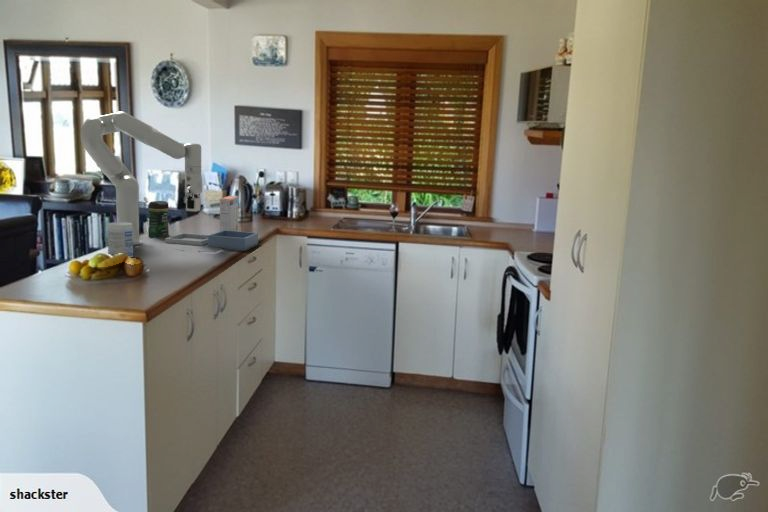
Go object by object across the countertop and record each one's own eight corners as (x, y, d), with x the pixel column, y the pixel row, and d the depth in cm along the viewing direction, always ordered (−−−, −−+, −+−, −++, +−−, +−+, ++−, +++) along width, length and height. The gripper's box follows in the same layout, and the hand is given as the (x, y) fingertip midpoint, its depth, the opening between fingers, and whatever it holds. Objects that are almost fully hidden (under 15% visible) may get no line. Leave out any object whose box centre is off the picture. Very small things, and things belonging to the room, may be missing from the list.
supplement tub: (131, 261, 249) (130, 225, 246) (106, 260, 247) (105, 224, 244) (134, 256, 258) (134, 222, 256) (110, 256, 256) (110, 221, 254)
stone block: (196, 211, 290) (195, 198, 289) (186, 210, 290) (185, 198, 289) (200, 210, 295) (200, 198, 293) (190, 209, 295) (190, 197, 294)
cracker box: (227, 234, 326) (227, 195, 322) (238, 235, 325) (239, 196, 321) (218, 238, 312) (219, 198, 308) (230, 239, 312) (231, 198, 308)
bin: (245, 251, 284) (245, 238, 283) (208, 247, 286) (208, 235, 285) (257, 244, 302) (258, 233, 300) (223, 241, 304) (223, 230, 303)
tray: (201, 247, 286) (201, 241, 285) (165, 244, 288) (165, 238, 287) (216, 241, 303) (216, 235, 303) (182, 238, 305) (182, 232, 305)
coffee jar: (159, 240, 299) (158, 202, 295) (145, 238, 301) (145, 200, 297) (171, 237, 308) (171, 200, 304) (158, 235, 310) (158, 199, 307)
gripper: (192, 171, 280) (193, 210, 283) (208, 169, 297) (208, 206, 300) (177, 170, 281) (177, 209, 284) (193, 168, 297) (193, 205, 301)
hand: (193, 207), depth 292 cm, fingers closed on stone block, 5 cm apart
